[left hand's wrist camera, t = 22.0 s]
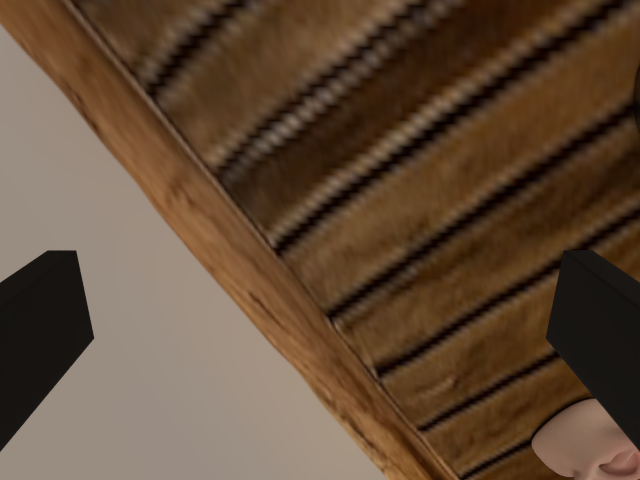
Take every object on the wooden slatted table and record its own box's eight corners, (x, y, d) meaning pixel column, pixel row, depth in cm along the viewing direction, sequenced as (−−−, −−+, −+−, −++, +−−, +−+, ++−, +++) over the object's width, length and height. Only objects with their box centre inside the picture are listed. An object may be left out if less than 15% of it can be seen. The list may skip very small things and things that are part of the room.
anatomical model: (532, 490, 47) (597, 406, 43) (516, 458, 50) (575, 379, 46) (640, 525, 48) (712, 447, 45) (617, 492, 52) (681, 418, 48)
